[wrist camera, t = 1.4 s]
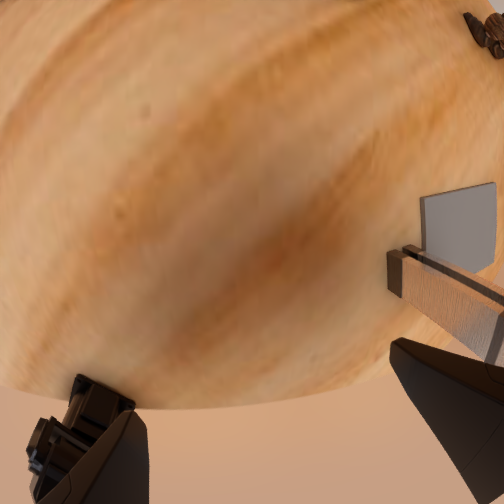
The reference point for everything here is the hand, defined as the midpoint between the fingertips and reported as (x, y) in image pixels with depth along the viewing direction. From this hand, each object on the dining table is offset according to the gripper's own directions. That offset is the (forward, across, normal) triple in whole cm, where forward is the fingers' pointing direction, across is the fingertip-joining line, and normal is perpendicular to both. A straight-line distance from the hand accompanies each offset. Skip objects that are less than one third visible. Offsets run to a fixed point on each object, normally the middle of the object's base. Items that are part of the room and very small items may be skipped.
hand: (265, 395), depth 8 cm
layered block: (+12, -14, +4) cm, 19 cm away
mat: (+12, -24, +4) cm, 27 cm away
